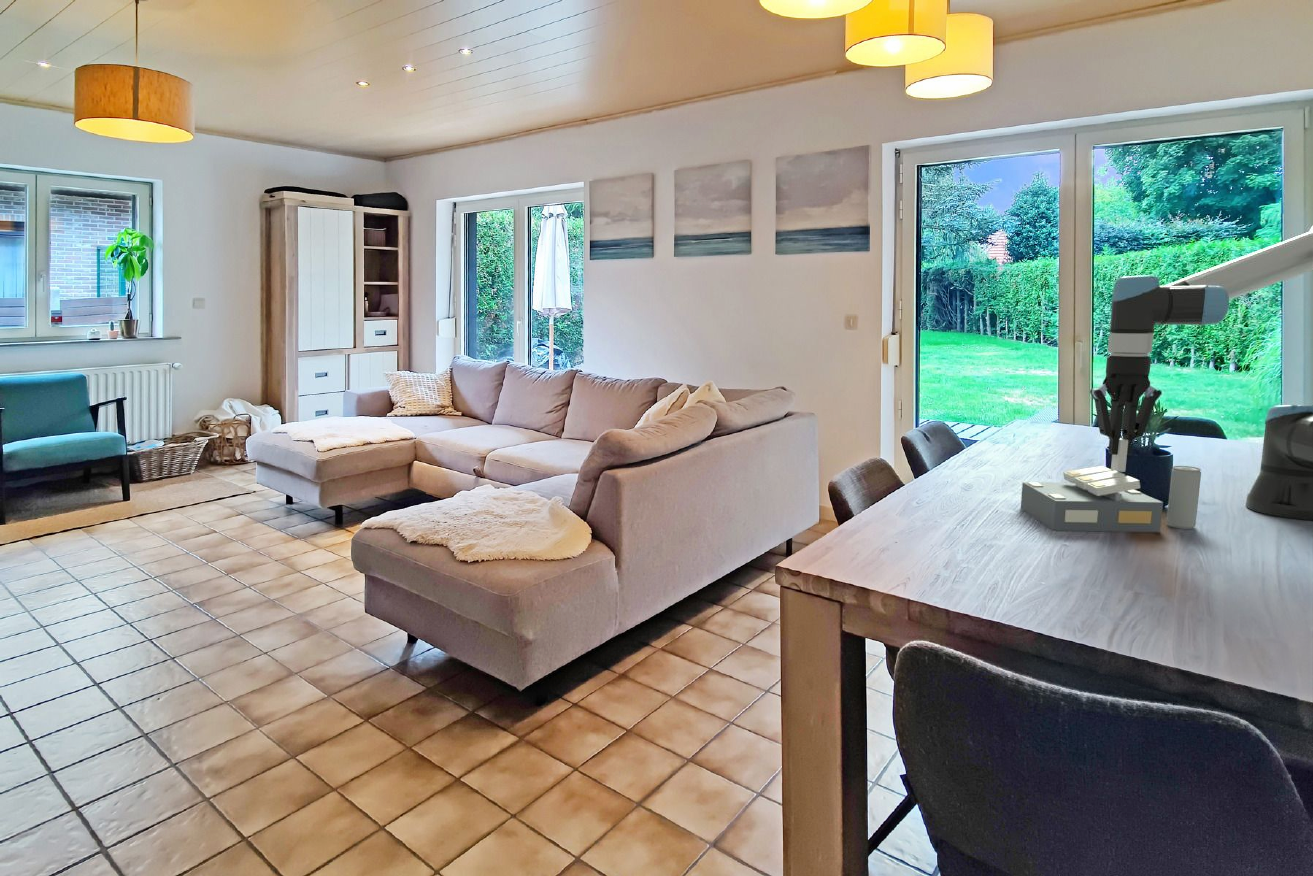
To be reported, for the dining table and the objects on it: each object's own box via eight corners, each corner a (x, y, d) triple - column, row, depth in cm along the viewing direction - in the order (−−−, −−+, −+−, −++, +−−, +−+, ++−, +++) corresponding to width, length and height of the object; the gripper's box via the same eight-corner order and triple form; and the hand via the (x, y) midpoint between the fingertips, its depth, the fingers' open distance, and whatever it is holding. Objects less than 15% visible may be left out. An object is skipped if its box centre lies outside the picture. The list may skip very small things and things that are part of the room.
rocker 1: (1102, 473, 162) (1101, 465, 162) (1112, 477, 158) (1111, 469, 158) (1064, 479, 163) (1063, 471, 163) (1072, 483, 159) (1071, 475, 159)
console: (1116, 510, 164) (1119, 476, 163) (1160, 532, 147) (1164, 495, 146) (1020, 508, 166) (1022, 475, 165) (1053, 530, 149) (1056, 494, 148)
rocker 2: (1115, 477, 157) (1114, 469, 157) (1126, 482, 153) (1124, 473, 153) (1075, 485, 158) (1074, 477, 158) (1084, 489, 154) (1083, 481, 154)
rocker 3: (1129, 483, 152) (1127, 475, 151) (1140, 488, 148) (1139, 479, 147) (1087, 491, 153) (1086, 482, 152) (1097, 495, 149) (1096, 487, 148)
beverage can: (1199, 530, 149) (1206, 470, 147) (1172, 529, 150) (1178, 470, 148) (1188, 523, 153) (1194, 466, 151) (1161, 522, 154) (1167, 465, 152)
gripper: (1153, 353, 154) (1141, 467, 158) (1086, 353, 155) (1076, 466, 159) (1174, 355, 147) (1161, 474, 150) (1104, 355, 148) (1093, 473, 152)
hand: (1118, 470), depth 155 cm, fingers closed
